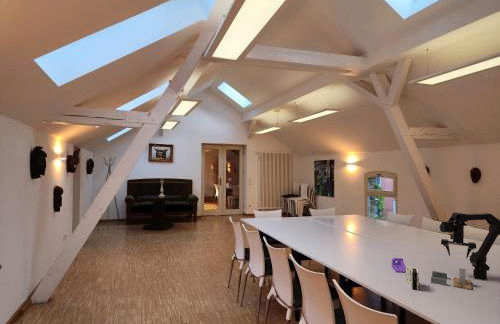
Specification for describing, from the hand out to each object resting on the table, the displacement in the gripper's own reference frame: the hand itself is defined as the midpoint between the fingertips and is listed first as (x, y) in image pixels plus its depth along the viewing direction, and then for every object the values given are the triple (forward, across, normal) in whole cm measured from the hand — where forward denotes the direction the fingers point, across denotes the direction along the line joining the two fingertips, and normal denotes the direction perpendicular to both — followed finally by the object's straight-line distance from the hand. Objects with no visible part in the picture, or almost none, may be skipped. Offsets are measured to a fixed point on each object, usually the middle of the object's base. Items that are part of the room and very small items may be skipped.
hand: (458, 257), depth 205 cm
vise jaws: (+13, +10, +13) cm, 21 cm away
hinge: (+13, +23, +33) cm, 42 cm away
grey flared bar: (+12, -2, +13) cm, 18 cm away
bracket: (+14, +34, +5) cm, 37 cm away
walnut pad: (+13, -2, +13) cm, 18 cm away
